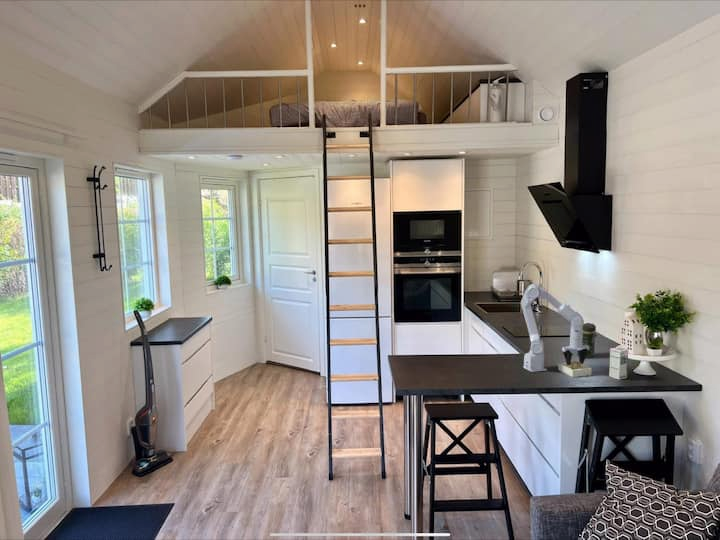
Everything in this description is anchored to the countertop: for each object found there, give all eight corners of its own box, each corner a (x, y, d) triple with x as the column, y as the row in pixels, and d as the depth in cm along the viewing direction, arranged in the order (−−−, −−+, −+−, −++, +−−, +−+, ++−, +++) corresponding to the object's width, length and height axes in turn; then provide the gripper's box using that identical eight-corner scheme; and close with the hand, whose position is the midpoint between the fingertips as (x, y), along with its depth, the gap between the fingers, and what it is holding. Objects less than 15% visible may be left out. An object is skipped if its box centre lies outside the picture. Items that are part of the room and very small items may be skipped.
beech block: (574, 373, 251) (574, 363, 250) (568, 370, 255) (569, 361, 254) (580, 372, 252) (581, 362, 251) (575, 370, 256) (576, 360, 255)
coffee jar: (589, 359, 275) (591, 326, 273) (575, 356, 281) (576, 324, 279) (596, 355, 282) (598, 323, 280) (582, 352, 288) (583, 321, 285)
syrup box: (618, 379, 243) (620, 350, 241) (608, 376, 248) (610, 347, 246) (627, 378, 245) (629, 349, 243) (616, 374, 250) (618, 346, 249)
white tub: (572, 377, 247) (572, 370, 246) (558, 370, 257) (558, 363, 257) (591, 375, 250) (591, 368, 249) (576, 368, 260) (576, 361, 260)
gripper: (569, 341, 246) (567, 368, 247) (594, 339, 249) (592, 365, 251) (559, 337, 252) (558, 363, 254) (584, 335, 256) (583, 361, 258)
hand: (574, 364), depth 253 cm, fingers open, 7 cm apart
